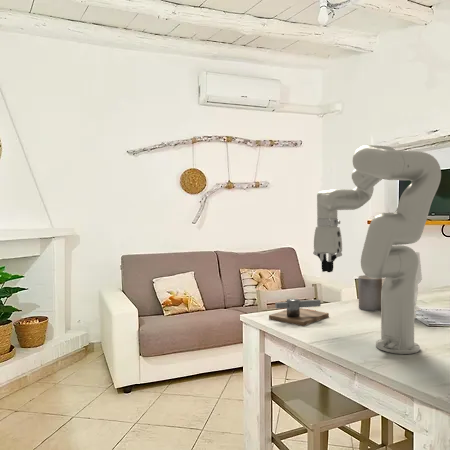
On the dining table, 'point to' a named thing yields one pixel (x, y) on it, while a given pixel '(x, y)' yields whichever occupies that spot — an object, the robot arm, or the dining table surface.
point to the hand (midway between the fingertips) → (327, 271)
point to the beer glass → (415, 297)
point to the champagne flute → (418, 275)
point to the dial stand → (300, 317)
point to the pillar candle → (369, 293)
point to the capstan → (296, 306)
